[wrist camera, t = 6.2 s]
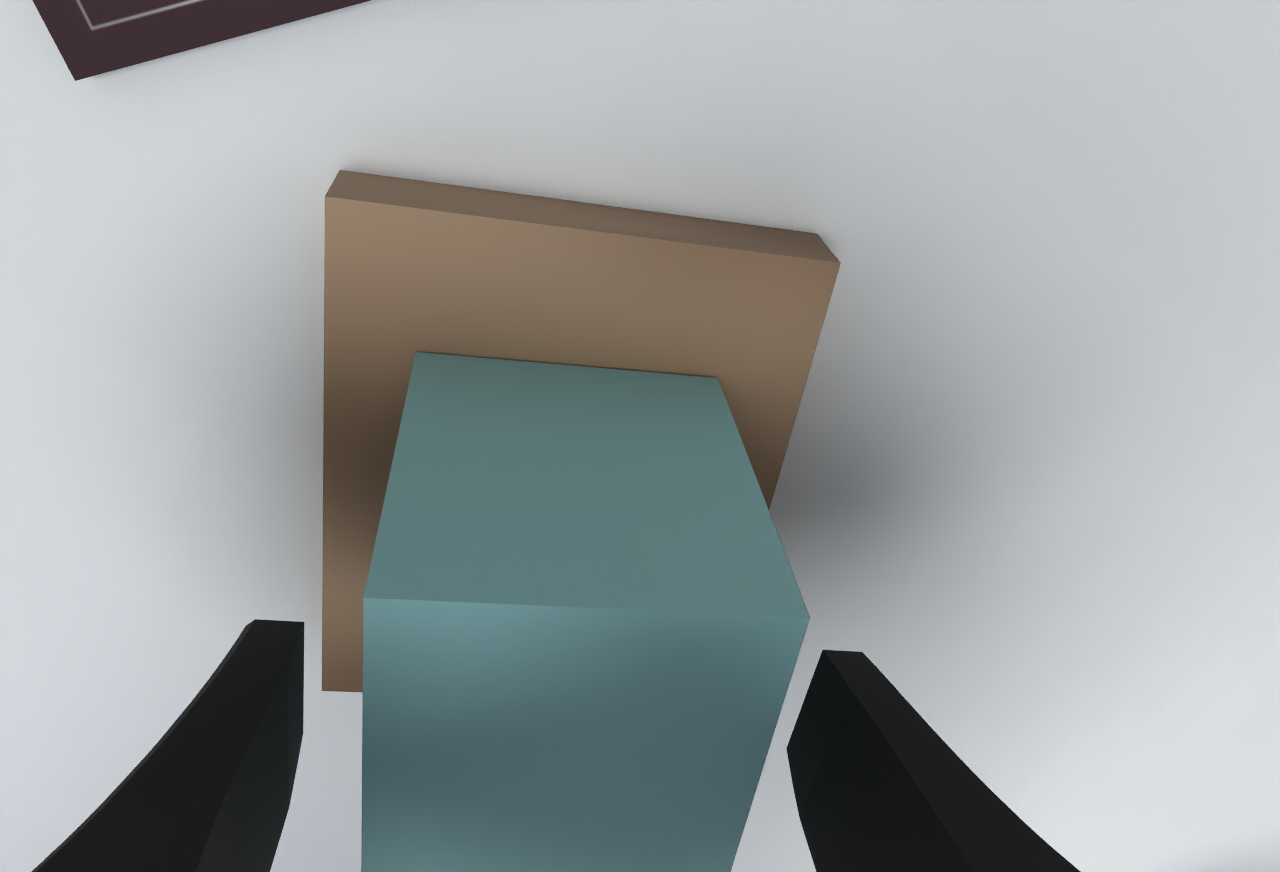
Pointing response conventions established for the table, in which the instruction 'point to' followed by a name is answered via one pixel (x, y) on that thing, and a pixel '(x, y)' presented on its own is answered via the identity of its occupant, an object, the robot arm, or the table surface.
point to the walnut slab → (538, 329)
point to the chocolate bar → (159, 26)
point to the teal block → (569, 625)
